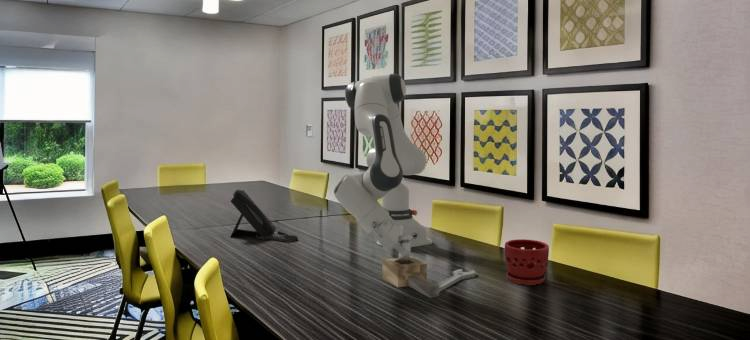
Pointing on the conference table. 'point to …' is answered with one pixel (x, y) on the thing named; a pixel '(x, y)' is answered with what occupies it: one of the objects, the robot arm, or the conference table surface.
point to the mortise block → (409, 276)
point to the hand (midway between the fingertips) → (406, 252)
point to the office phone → (256, 218)
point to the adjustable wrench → (455, 278)
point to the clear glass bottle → (405, 243)
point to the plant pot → (526, 261)
